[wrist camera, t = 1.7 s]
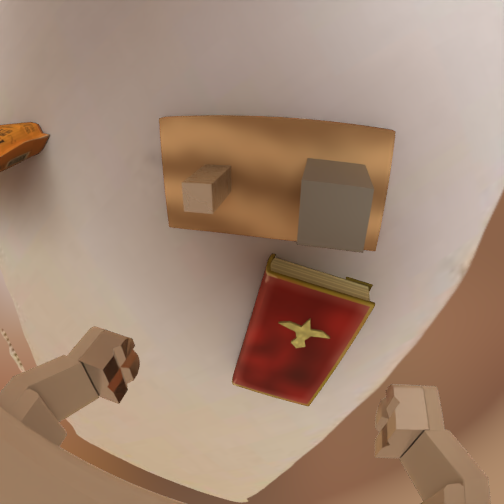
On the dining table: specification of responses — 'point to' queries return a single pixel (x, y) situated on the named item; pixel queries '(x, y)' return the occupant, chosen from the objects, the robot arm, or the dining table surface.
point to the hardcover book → (299, 330)
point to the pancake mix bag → (20, 143)
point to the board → (266, 168)
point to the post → (206, 189)
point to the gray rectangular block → (334, 205)
